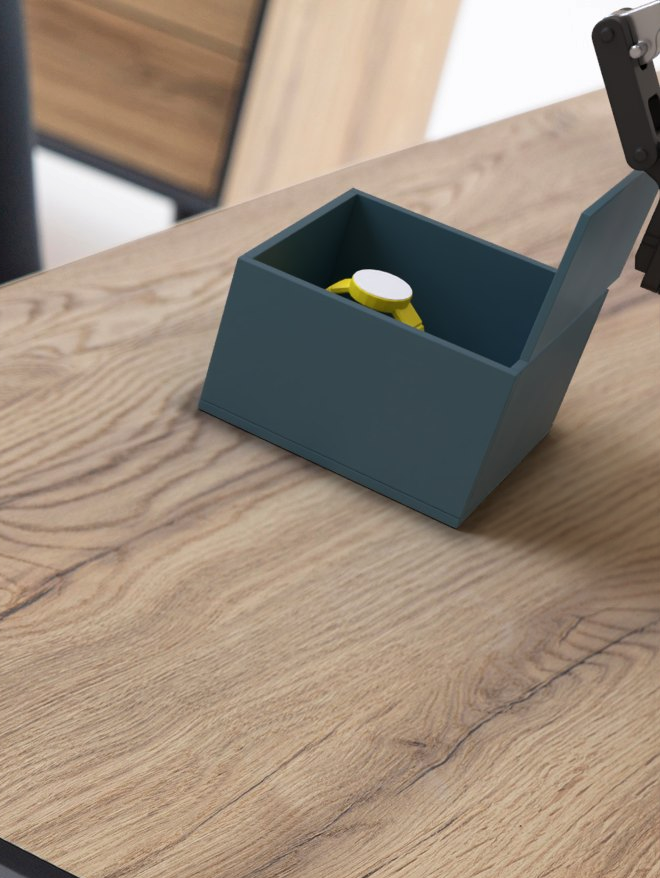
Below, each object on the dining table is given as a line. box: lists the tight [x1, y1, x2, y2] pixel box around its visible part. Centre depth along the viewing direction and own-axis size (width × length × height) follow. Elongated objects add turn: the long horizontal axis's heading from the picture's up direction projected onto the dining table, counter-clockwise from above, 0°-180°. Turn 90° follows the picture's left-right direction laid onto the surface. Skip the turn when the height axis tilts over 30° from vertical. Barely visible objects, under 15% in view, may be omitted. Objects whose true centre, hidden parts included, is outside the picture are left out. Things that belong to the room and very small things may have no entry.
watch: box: [325, 269, 424, 331], centre depth 79 cm, size 6×3×6 cm, turn 52°
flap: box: [520, 169, 660, 362], centre depth 71 cm, size 6×12×1 cm
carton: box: [197, 187, 610, 529], centre depth 79 cm, size 13×12×8 cm
